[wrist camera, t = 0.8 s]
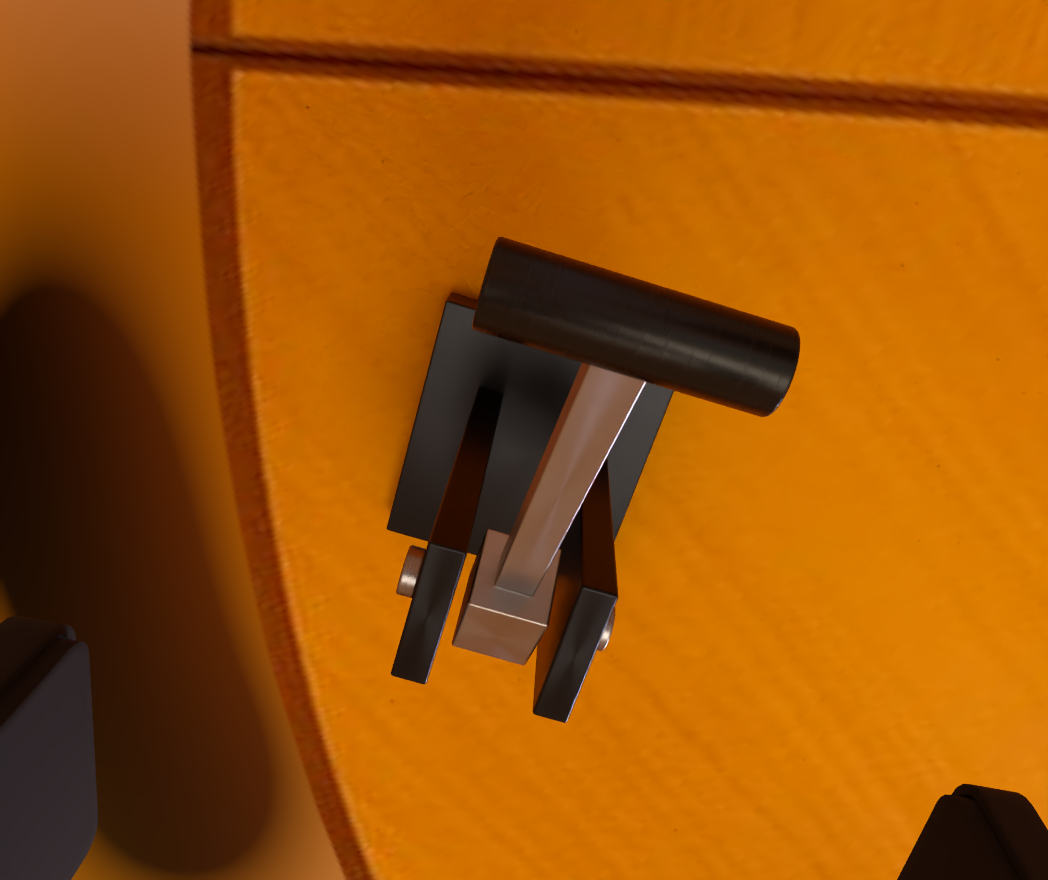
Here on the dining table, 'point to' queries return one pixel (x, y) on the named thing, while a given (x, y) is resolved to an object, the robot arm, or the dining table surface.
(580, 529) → the bracket
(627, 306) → the lever
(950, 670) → the dining table surface
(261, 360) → the dining table surface
